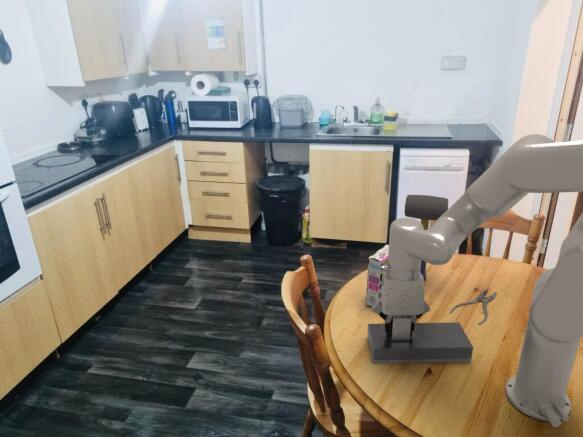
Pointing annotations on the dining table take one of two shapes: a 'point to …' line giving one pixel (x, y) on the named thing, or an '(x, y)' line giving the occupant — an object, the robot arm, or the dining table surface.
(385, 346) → the rectangular block
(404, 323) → the steel peg
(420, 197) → the rubber mallet
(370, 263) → the candy bar box
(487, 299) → the pliers
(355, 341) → the dining table surface
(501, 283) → the dining table surface
